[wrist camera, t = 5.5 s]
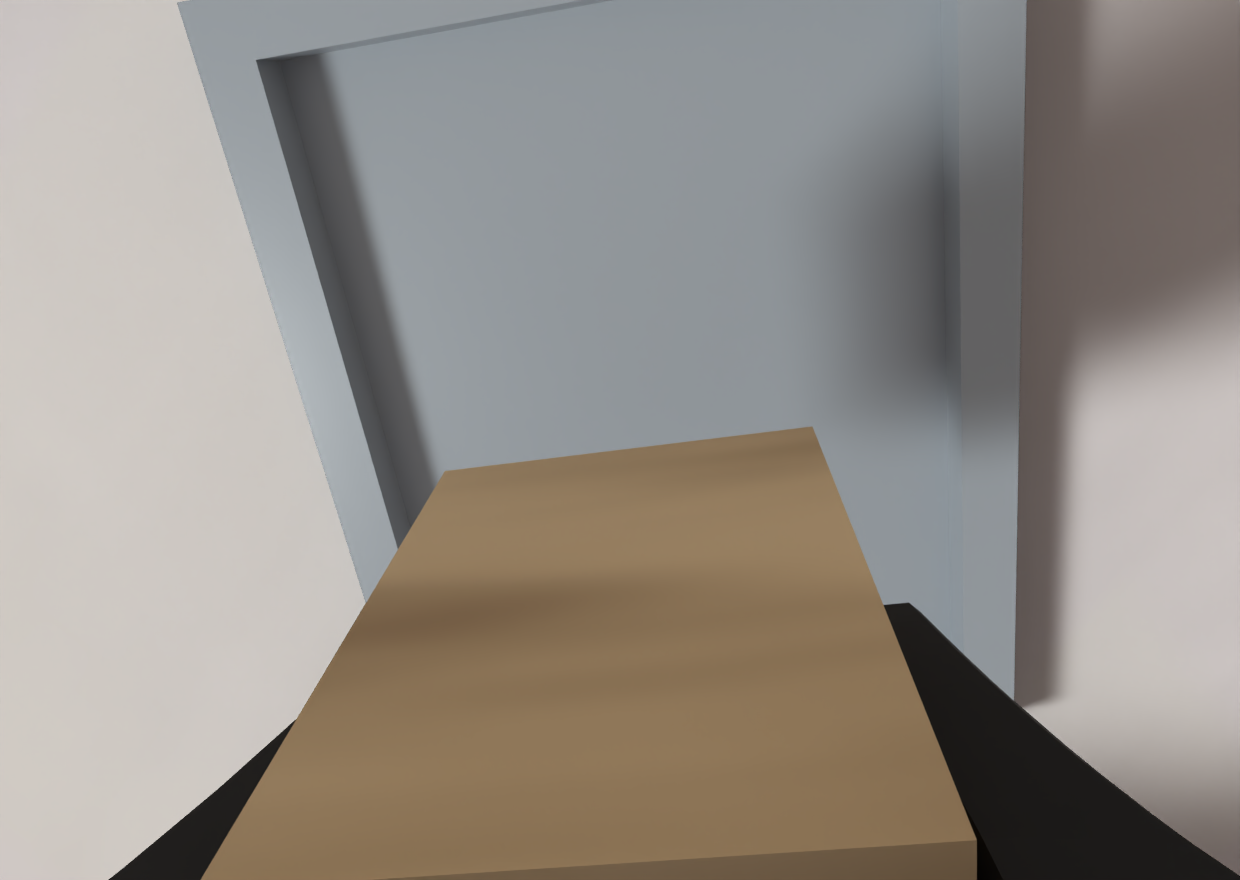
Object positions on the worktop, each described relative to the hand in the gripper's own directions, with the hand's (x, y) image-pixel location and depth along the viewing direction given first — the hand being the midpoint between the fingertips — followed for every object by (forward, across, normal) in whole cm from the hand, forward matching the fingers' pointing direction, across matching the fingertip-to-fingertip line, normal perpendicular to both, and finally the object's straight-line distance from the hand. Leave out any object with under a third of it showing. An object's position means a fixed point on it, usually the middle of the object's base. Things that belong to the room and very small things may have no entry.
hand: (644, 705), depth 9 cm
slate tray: (+9, 0, 0) cm, 9 cm away
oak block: (+2, 0, 0) cm, 2 cm away
